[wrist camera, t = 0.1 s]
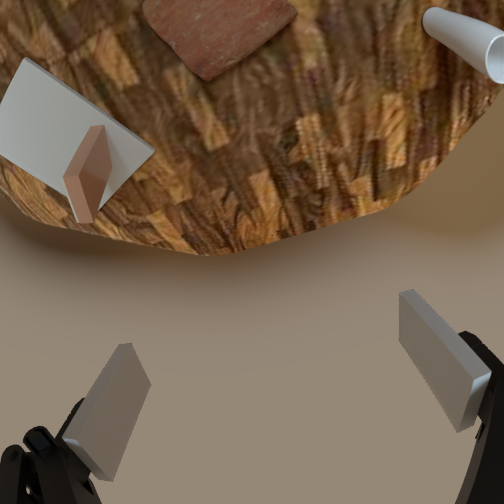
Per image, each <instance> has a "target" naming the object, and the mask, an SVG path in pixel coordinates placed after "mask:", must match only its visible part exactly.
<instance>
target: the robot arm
mask: <svg viewBox="0 0 504 504" xmlns="http://www.w3.org/2000/svg"><path fill="white" fill-rule="evenodd" d="M399 341H400V343H401V344H402V346H403V347H404V349H405V350H406V352H407V353H408V355H409V356H410V358H411V359H412V361H413V362H414V364H415V365H416V367H417V369H418V370H419V372H420V373H421V375H422V376H423V378H424V379H425V381H426V383H427V384H428V386H429V387H430V389H431V390H432V392H433V394H434V395H435V397H436V398H437V400H438V402H439V403H440V405H441V406H442V408H443V410H444V412H445V413H446V414H447V416H448V418H449V420H450V422H451V423H452V425H453V427H454V428H455V430H456V432H457V433H458V432H460V431H462V430H465V429H467V428H469V427H471V426H473V425H474V423H475V420H476V418H477V415H478V416H479V417H480V419H481V421H482V423H481V425H480V428H479V430H478V433H477V435H476V437H475V438H476V439H477V441H476V444H475V448H474V451H473V455H472V458H471V461H470V464H469V467H468V470H467V473H466V476H465V479H464V482H463V485H462V487H461V490H460V492H459V495H458V498H457V500H456V502H455V504H504V364H503V363H502V362H501V361H500V360H499V359H498V358H497V357H496V356H495V355H494V354H493V353H492V352H491V351H490V350H489V349H488V348H487V347H486V346H485V344H482V342H481V340H480V339H479V338H478V337H477V336H476V335H474V334H471V333H469V332H467V331H464V332H461V333H458V334H457V333H456V332H455V331H454V330H453V329H452V328H451V327H450V326H449V325H448V323H447V322H446V321H445V320H443V318H442V317H441V316H440V315H439V314H438V313H437V312H436V311H435V310H434V309H433V308H432V307H431V306H430V305H429V304H428V303H427V302H426V301H425V300H424V299H423V298H422V297H421V296H420V295H419V294H418V293H416V291H414V290H413V289H411V290H407V291H404V292H400V293H399ZM150 386H151V383H150V381H149V379H148V377H147V375H146V373H145V371H144V369H143V367H142V365H141V363H140V360H139V358H138V356H137V354H136V352H135V350H134V348H133V345H132V343H127V344H119V345H118V347H117V348H116V350H115V351H114V353H113V354H112V356H111V358H110V359H109V361H108V362H107V364H106V365H105V367H104V368H103V370H102V372H101V373H100V375H99V376H98V378H97V380H96V381H95V383H94V384H93V386H92V388H91V389H90V391H89V392H88V394H87V396H86V397H85V398H82V399H81V400H80V401H79V402H78V403H77V404H76V405H75V406H74V408H73V409H72V411H71V414H69V416H68V417H67V420H66V421H65V422H64V424H63V426H62V427H61V429H60V431H59V432H58V434H57V436H56V437H55V439H54V437H53V436H52V435H51V434H50V432H49V431H48V430H47V428H45V427H43V426H37V427H34V428H32V429H30V430H29V431H28V432H27V433H26V434H25V436H24V438H23V443H24V444H25V445H26V446H27V448H28V449H29V450H30V451H31V452H25V451H24V450H23V448H22V447H21V446H19V445H11V446H9V447H8V448H6V449H5V451H4V452H3V454H2V457H1V462H0V504H102V503H101V501H100V498H99V497H98V494H97V492H96V489H95V487H94V485H93V483H92V481H91V480H90V478H89V475H90V472H92V473H93V474H94V476H95V477H96V478H97V479H99V480H105V481H112V482H113V480H114V477H115V475H116V472H117V469H118V467H119V464H120V461H121V459H122V456H123V454H124V451H125V448H126V446H127V443H128V441H129V438H130V436H131V433H132V430H133V428H134V425H135V423H136V420H137V418H138V415H139V413H140V410H141V408H142V406H143V403H144V401H145V398H146V396H147V393H148V391H149V388H150ZM26 487H27V488H28V489H29V490H30V494H28V493H27V491H26Z"/></svg>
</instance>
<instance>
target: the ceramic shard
mask: <svg viewBox="0 0 504 504" xmlns="http://www.w3.org/2000/svg"><path fill="white" fill-rule="evenodd" d="M142 11H143V15H144V17H145V19H146V21H147V22H148V24H149V25H150V26H151V28H152V29H153V30H154V31H155V32H156V33H157V34H158V35H159V36H160V37H161V38H162V39H163V40H164V41H165V42H167V43H168V44H169V45H170V46H171V47H172V49H173V50H174V52H175V53H176V54H177V55H178V56H179V57H180V58H181V60H182V61H183V62H184V63H185V64H186V66H187V67H188V68H189V69H190V70H191V71H192V72H193V73H195V74H197V75H199V76H200V77H201V78H202V79H203V80H208V81H210V80H212V79H213V78H215V77H216V76H218V75H220V74H221V73H223V72H225V71H226V70H228V69H229V68H231V67H232V66H234V65H235V64H236V63H238V62H239V61H241V60H242V59H244V58H245V57H246V56H248V55H249V54H251V53H252V52H254V51H255V50H256V49H258V48H259V47H260V46H261V45H263V44H264V43H265V42H266V41H267V40H269V39H271V38H272V37H273V36H274V35H275V34H277V33H278V32H279V31H280V30H281V29H283V28H284V26H285V25H287V24H288V23H289V22H290V21H291V20H293V19H294V18H295V17H296V16H297V15H298V12H297V10H296V9H295V8H294V6H292V4H291V3H289V2H288V1H287V0H145V1H144V3H143V6H142Z"/></svg>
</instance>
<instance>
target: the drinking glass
mask: <svg viewBox="0 0 504 504" xmlns="http://www.w3.org/2000/svg"><path fill="white" fill-rule="evenodd" d="M422 22H423V27H424V29H425V31H426V32H427V34H428V35H430V36H431V37H432V38H434V39H436V40H438V41H439V42H441V43H442V44H444V45H445V46H446V47H448V48H449V49H451V50H452V51H453V52H454V53H456V54H457V55H458V56H460V57H461V58H462V59H463V60H465V61H466V62H467V63H468V64H470V65H471V66H472V67H474V68H475V69H476V70H478V71H479V72H481V73H482V74H484V75H485V76H487V77H488V78H490V79H491V80H493V81H494V82H496V83H499V84H504V32H503V31H502V30H500V29H498V28H496V27H494V26H492V25H490V24H488V23H485V22H483V21H480V20H477V19H474V18H471V17H468V16H465V15H461V14H458V13H455V12H451V11H448V10H445V9H442V8H439V7H432V8H429V9H428V10H427V11H426V12H425V13H424V15H423V19H422Z"/></svg>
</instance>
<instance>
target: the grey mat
mask: <svg viewBox="0 0 504 504" xmlns="http://www.w3.org/2000/svg"><path fill="white" fill-rule="evenodd" d="M97 125H104V126H105V132H106V137H107V143H108V148H109V153H110V158H111V163H112V171H111V173H110V176H109V179H108V182H107V184H106V187H105V190H104V193H103V196H102V199H101V202H100V205H99V208H98V210H99V209H100V208H101V207H102V206H103V205H104V204H105V203H106V202H107V200H108V199H109V198H110V197H111V196H112V195H113V194H114V193H115V192H116V191H117V190H118V189H119V187H120V186H121V185H122V184H123V183H124V182H125V181H126V180H127V179H128V178H129V177H130V176H131V175H132V174H133V173H134V172H135V171H136V170H137V169H138V168H139V167H140V166H141V165H142V164H143V163H144V162H145V161H146V160H147V159H148V158H149V157H150V156H151V155H152V154H153V153H154V152H155V148H153V147H152V146H151V145H149V144H148V143H147V142H145V141H144V140H142V139H141V138H140V137H138V136H137V135H136V134H134V133H133V132H132V131H130V130H129V129H127V128H126V127H125V126H123V125H122V124H121V123H119V122H118V121H116V120H115V119H114V118H112V117H111V116H110V115H108V114H107V113H105V112H104V111H103V110H101V109H100V108H99V107H97V106H96V105H94V104H93V103H92V102H90V101H89V100H87V99H86V98H85V97H83V96H82V95H80V94H79V93H78V92H76V91H75V90H73V89H72V88H70V87H69V86H68V85H66V84H65V83H63V82H62V81H61V80H59V79H58V78H56V77H55V76H53V75H52V74H51V73H49V72H48V71H46V70H45V69H43V68H42V67H40V66H39V65H38V64H36V63H35V62H33V61H32V60H30V59H29V58H27V57H25V58H24V59H23V61H22V62H21V64H20V66H19V68H18V70H17V72H16V74H15V76H14V77H13V79H12V81H11V83H10V85H9V87H8V89H7V92H6V94H5V96H4V98H3V100H2V102H1V105H0V155H2V156H3V157H5V158H6V159H8V160H9V161H11V162H13V163H14V164H16V165H17V166H19V167H20V168H22V169H23V170H25V171H27V172H28V173H30V174H31V175H33V176H34V177H36V178H38V179H39V180H41V181H42V182H44V183H46V184H47V185H49V186H50V187H52V188H54V189H55V190H57V191H58V192H60V193H62V194H63V195H65V196H67V194H66V192H65V189H64V186H63V183H62V180H61V178H62V176H63V174H64V172H65V170H66V168H67V166H68V164H69V162H70V160H71V158H72V156H73V155H74V153H75V151H76V149H77V147H78V146H79V144H80V142H81V140H82V139H83V137H84V135H85V134H86V132H87V130H88V129H89V128H90V126H97ZM97 212H98V211H97Z"/></svg>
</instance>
